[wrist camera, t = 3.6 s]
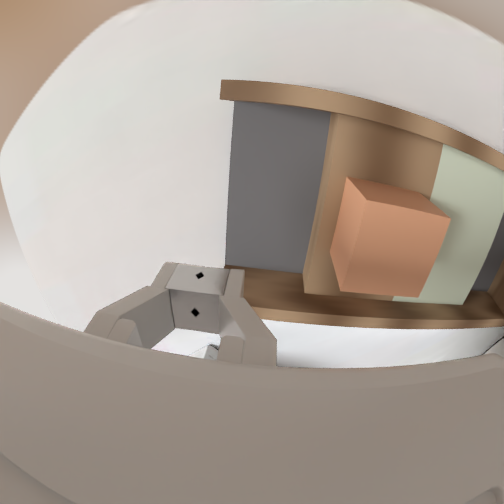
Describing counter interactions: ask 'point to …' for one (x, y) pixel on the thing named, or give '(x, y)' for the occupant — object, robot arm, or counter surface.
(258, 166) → the box
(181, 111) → the counter surface
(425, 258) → the block
